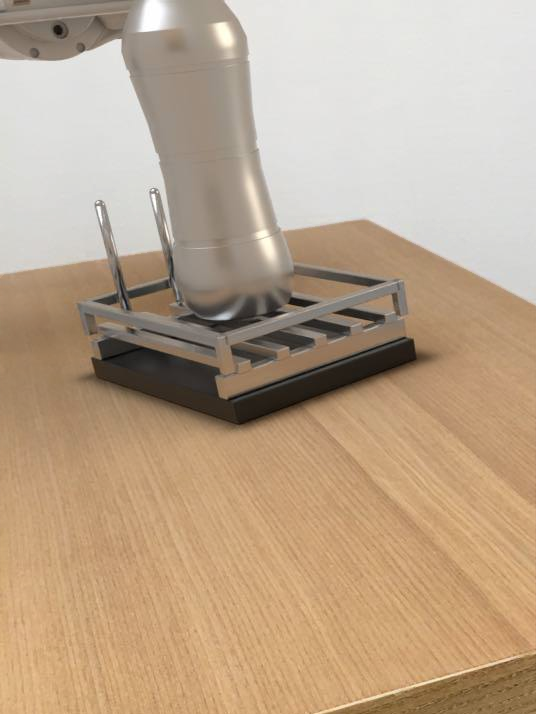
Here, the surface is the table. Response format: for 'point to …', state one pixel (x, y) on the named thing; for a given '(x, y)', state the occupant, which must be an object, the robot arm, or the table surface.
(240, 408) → the dish rack
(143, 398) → the table surface
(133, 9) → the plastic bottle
